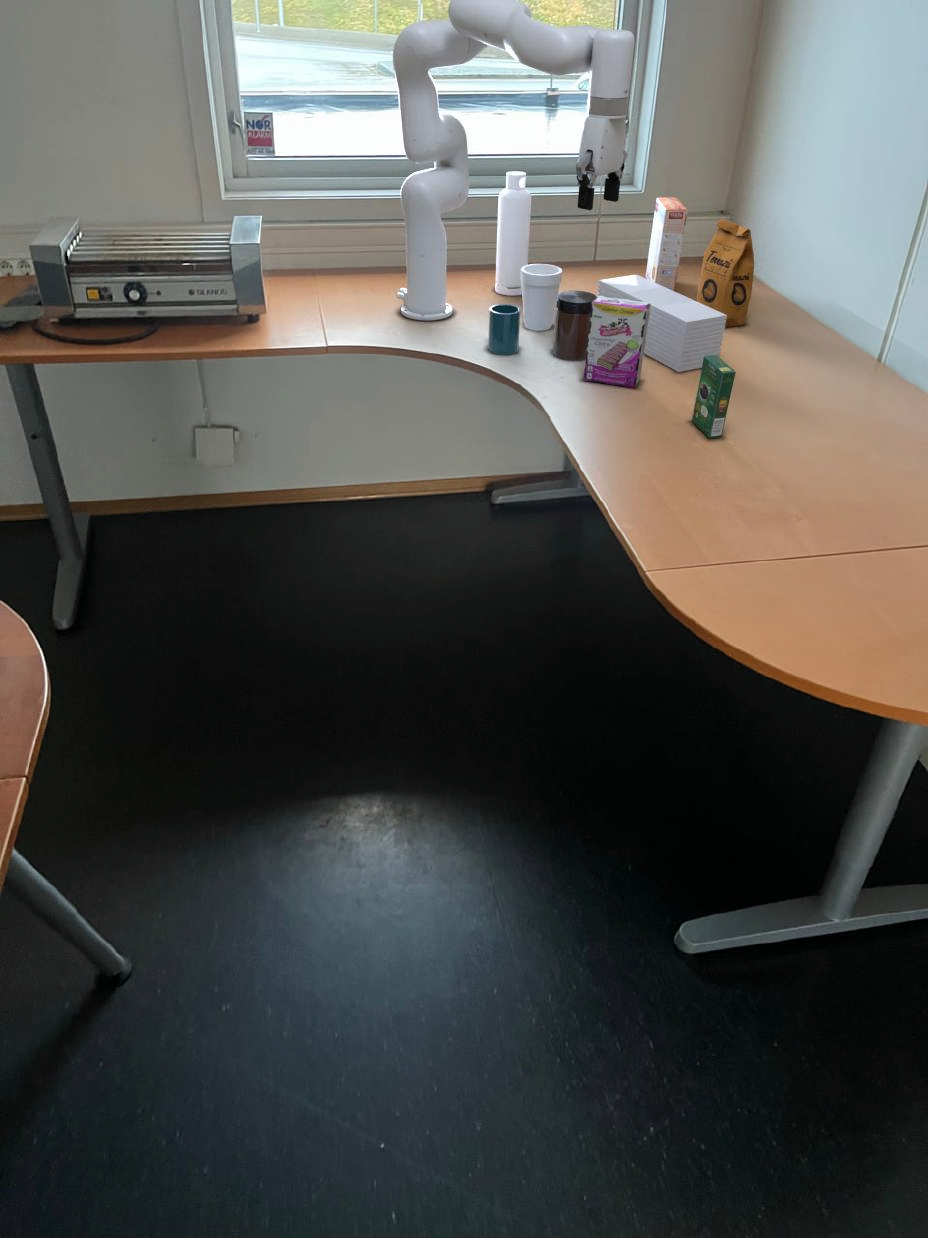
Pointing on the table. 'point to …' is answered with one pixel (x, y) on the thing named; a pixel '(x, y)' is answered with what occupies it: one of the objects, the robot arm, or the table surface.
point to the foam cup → (539, 294)
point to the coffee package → (728, 273)
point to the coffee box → (713, 396)
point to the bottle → (512, 233)
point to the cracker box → (666, 242)
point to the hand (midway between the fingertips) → (598, 204)
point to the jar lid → (575, 301)
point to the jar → (571, 335)
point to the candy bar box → (616, 341)
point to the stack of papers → (671, 322)
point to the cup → (504, 329)
